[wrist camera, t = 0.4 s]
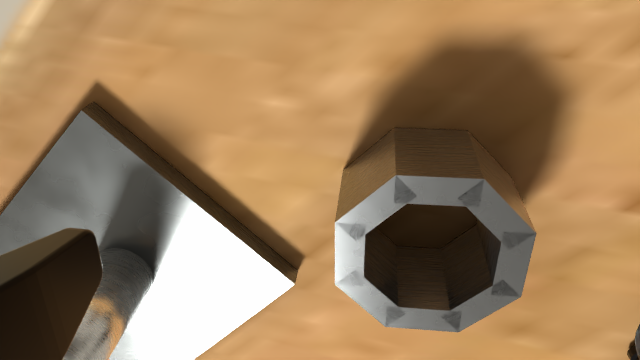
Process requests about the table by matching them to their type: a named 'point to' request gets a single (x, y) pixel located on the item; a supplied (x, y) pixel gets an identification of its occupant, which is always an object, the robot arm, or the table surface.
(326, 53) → the table surface
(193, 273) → the piston post
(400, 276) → the octagonal metal collar
